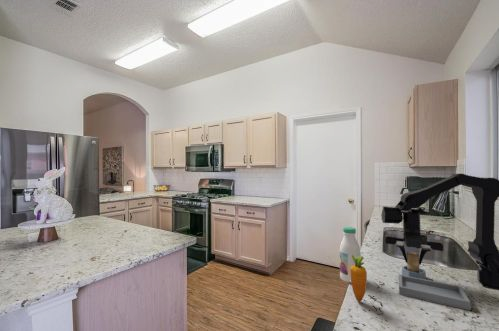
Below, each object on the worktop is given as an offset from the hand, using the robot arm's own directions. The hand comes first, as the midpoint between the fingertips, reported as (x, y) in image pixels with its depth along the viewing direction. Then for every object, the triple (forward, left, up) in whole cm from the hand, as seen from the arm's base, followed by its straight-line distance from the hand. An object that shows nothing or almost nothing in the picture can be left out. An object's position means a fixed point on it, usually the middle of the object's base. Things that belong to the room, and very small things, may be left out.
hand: (412, 263), depth 92 cm
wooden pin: (0, 0, -4) cm, 4 cm away
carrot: (+16, +32, -6) cm, 36 cm away
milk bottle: (+21, +16, -6) cm, 27 cm away
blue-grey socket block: (0, 0, -5) cm, 5 cm away
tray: (-4, +13, -5) cm, 15 cm away
